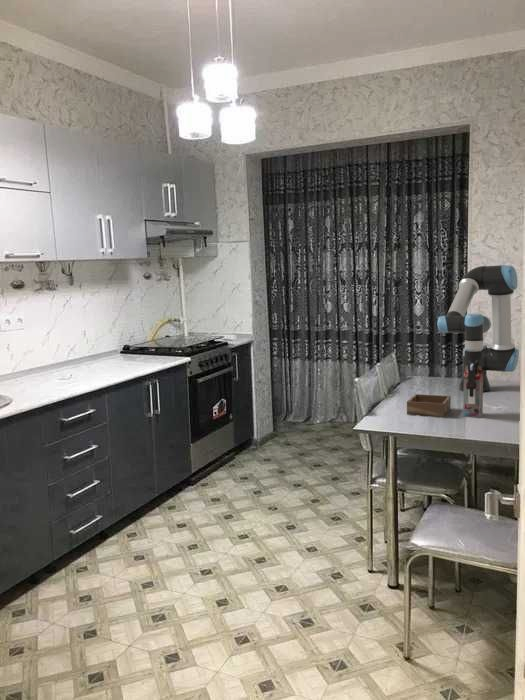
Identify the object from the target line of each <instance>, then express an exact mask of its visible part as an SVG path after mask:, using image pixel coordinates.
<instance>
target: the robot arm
mask: <svg viewBox="0 0 525 700" xmlns="http://www.w3.org/2000/svg"><path fill="white" fill-rule="evenodd" d="M518 281H519V280H518V275H517V271H516V269H515V267H514V266H512V265H505V264H502V265H501V264H500V265H483V266H482V265H481V266H476V267H474V268H472V269H470V270H469V271H467V272H466V273H465V274H464V275H463V276H462V278H461V279H460V281H459V283H458V290H457V292H456V294H455V296H454V299H453V301H452V302H451V305H450V307H449V310H448V312H447V313H446V315H441V316H439V317H438V319H437V324H436V325H437V329H438V332H440V333H447V334H464V342H462V344H463V345H464V348H463V350H462V376H461V379H460V382H459V385H458V386H459V387H458V388H459V391H462V392H464V372H465V369H466V366H468V387H466V388H467V389H468V404H475V374H477V368H478V366H482V372H483V393H485V392H484V391H486V392H488V390H489V391H491V384H490V382H489V379H488V375H487V371H490V372H503V373H508V372H509V373H511V372H512V373H514V371H515V370H516V369H517V365H518V364H519V363H518V362H519V357H520V352H519V351H520V350H519V349H518V348H516V345H515V343H513V342H512V308H511V306H512V305H511V304H512V300H511V299H512V298H511V296H512V295H513V294H514V293H515V290H517V289H518ZM479 291H487V294H488V296H490V298H491V316H492V317H491V319H492V320H490V318H489V317H488V316H486V315H483V314H482V313H469V314H468V313H467V311H468V309H469V307H470V305H471V302H472V299H473V297H474V295H476V294H477V293H478V292H479ZM491 326H492V343H491V344H490V345H489V347H488V345H487V344H484V334H485V333H487V332H488V331H489V330H490V329H491ZM470 385H472V386H470Z"/></svg>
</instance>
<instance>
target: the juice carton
mask: <svg viewBox="0 0 525 700" xmlns="http://www.w3.org/2000/svg"><path fill="white" fill-rule="evenodd" d="M470 386H472V385H470ZM466 387H468V366H466V369H465V372H464V391H463V408H462V411H463V414H462V417H464V418H475V419H480V418H481V417H482V416H483V414H484V413H483V407H484V405H483V404H484V397H483V396H484V392H483V372H482V366H478V368H477V374H475V404H468V389H467V388H466Z"/></svg>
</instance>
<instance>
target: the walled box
mask: <svg viewBox="0 0 525 700" xmlns="http://www.w3.org/2000/svg"><path fill="white" fill-rule="evenodd" d="M451 402H452V401H451V396H450V395H449V396H447V395H438V394H437V395H434V394H422V393H421V394H420V393H414V395H412V396H411V398H409V399H408V400H407V401H406V415H407V414H411V415H410V416H416V415H420V416H419V417H428V416H434V417H433V418H440V417H444V416H445V417H446V415H447V414H448V413H449V412H450V411H451V408H452V407H451ZM435 416H436V417H435ZM445 417H444V418H445Z"/></svg>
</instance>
